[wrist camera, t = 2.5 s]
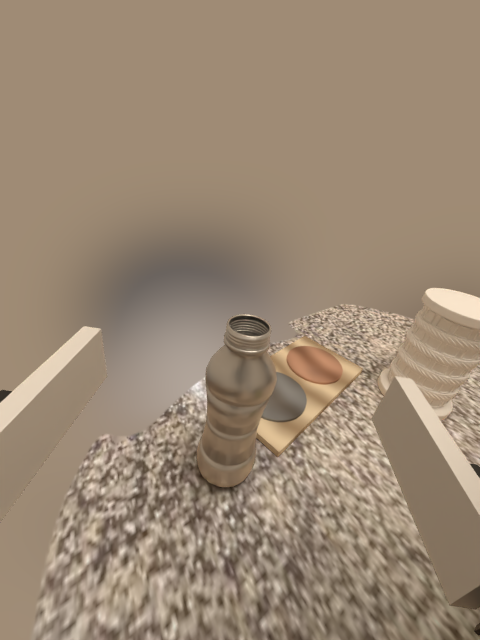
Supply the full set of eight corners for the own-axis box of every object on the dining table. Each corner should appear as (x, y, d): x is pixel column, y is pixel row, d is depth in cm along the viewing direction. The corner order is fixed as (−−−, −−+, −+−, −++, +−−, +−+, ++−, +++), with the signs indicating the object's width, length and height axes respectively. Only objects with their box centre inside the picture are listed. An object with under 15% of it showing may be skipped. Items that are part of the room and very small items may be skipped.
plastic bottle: (195, 443, 35) (207, 303, 25) (248, 442, 36) (279, 308, 26) (194, 497, 30) (208, 346, 20) (256, 494, 31) (299, 350, 21)
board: (303, 339, 59) (305, 333, 59) (361, 372, 52) (364, 366, 51) (210, 396, 42) (211, 388, 41) (277, 457, 35) (280, 449, 34)
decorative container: (379, 364, 55) (421, 280, 46) (445, 389, 51) (504, 303, 42) (374, 400, 46) (425, 305, 37) (453, 433, 42) (532, 336, 33)
